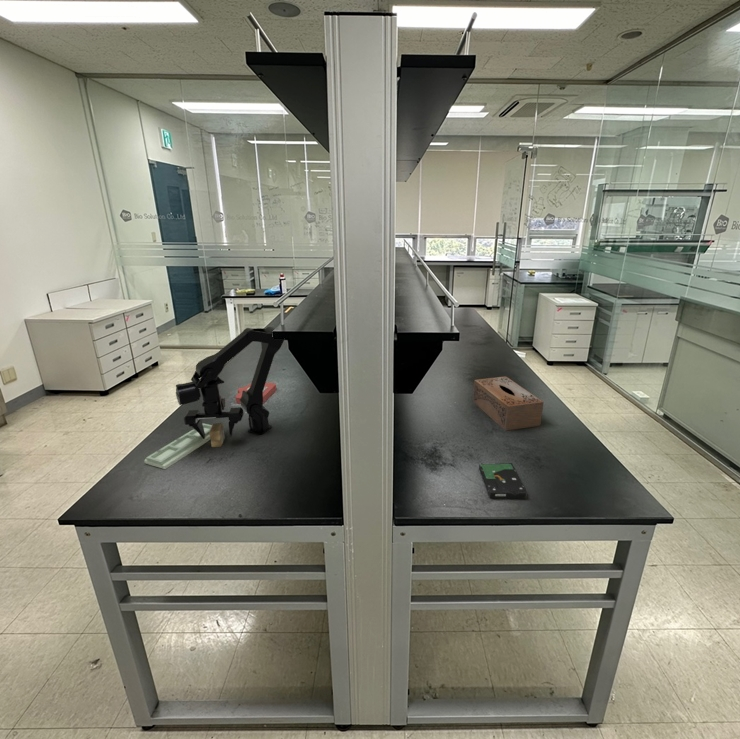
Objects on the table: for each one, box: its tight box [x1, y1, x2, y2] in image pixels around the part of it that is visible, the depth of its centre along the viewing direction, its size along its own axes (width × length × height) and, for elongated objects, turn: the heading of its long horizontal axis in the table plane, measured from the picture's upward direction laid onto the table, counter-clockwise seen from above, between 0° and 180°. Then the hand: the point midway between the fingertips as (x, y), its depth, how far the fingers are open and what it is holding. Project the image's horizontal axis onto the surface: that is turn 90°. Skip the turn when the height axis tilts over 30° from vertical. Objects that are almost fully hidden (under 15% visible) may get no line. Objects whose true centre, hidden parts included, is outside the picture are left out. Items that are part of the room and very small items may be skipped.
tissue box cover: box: [472, 376, 544, 431], centre depth 164 cm, size 26×14×10 cm, turn 14°
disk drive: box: [478, 462, 528, 500], centre depth 123 cm, size 10×3×15 cm
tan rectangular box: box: [209, 422, 226, 448], centre depth 147 cm, size 3×6×6 cm, turn 6°
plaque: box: [234, 381, 277, 405], centre depth 184 cm, size 18×4×15 cm
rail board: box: [143, 422, 213, 470], centre depth 145 cm, size 9×25×3 cm, turn 156°
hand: (217, 437), depth 147 cm, fingers open, 9 cm apart
